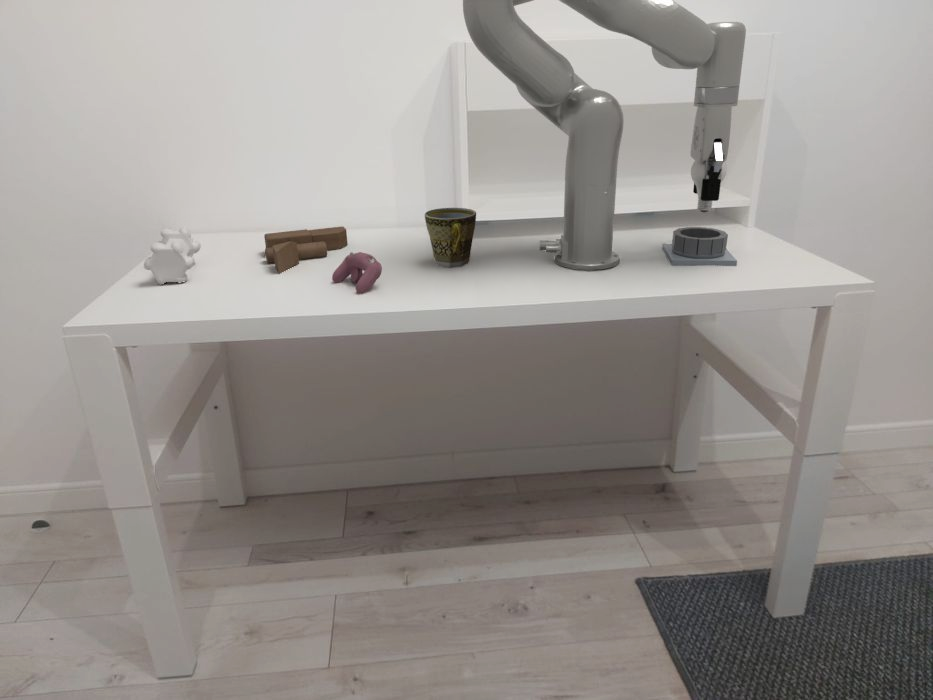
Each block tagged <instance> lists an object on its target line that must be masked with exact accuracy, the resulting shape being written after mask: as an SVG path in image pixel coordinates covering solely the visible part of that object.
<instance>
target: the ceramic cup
mask: <svg viewBox="0 0 933 700" xmlns="http://www.w3.org/2000/svg"><path fill="white" fill-rule="evenodd" d="M424 221H425V224H426V228H427V232H428V235H429V240H430V244H431V248H432V249H431V251H432V254H433V259H434V262H435V263H436V265H437V266H438V267H441V268H442V267H443V268H449V269H453V268H462V267H464V266H466V265H468V264H469V263H470V259H471V251H472V246H473V239H474V238H473V237H474V234H475V228H476V222H477V212H476V211H475V210H473V209H470V208H465V207H440V208H434V209H431V210H428V211H426V212H425V213H424Z"/></svg>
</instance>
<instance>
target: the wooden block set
mask: <svg viewBox="0 0 933 700" xmlns="http://www.w3.org/2000/svg"><path fill="white" fill-rule="evenodd" d="M263 238H264V244H265V249H264V253H265V254H264V255H265V260H266V262H267V264H268V263H271V264H274V267H275V269H276V271H277V272H278V274H279V273H281V274H282V272H283V273H285V272H286V270H287V271H288V269H289V270H291V269H293V268H294V266H295V267H297V266H298V265H299V264H300V261H301V260H302V261H303V260H310V258H311V259H318V258H325V257H327V256H328V251H334V250H341V249H343V248H346V247H347V246H348V236H347V228H346V227H344V226H342V225H341V226H335V227H325V228H315V229H307V228H305V229H295V230H290V231H289V230H288V231H287V230H286V231H279V232H270V233H264V237H263ZM292 267H293V268H292ZM290 268H291V269H290ZM284 271H285V272H284Z"/></svg>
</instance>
